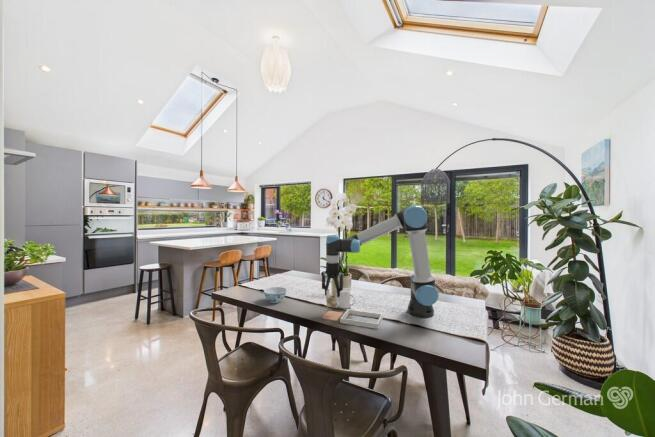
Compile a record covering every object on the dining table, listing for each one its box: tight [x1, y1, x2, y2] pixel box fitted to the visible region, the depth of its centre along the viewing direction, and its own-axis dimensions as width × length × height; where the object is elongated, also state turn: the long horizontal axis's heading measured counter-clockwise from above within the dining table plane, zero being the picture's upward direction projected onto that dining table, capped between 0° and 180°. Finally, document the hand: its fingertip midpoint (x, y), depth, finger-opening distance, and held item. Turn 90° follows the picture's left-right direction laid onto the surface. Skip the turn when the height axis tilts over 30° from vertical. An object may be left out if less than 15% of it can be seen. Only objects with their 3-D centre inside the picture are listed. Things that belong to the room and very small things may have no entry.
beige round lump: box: [326, 294, 338, 308], centre depth 159 cm, size 5×5×5 cm
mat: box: [321, 310, 344, 322], centre depth 159 cm, size 9×12×1 cm
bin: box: [339, 308, 384, 330], centre depth 153 cm, size 21×15×2 cm
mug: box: [337, 287, 356, 309], centre depth 173 cm, size 9×12×11 cm
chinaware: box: [263, 286, 287, 304], centre depth 183 cm, size 15×15×8 cm
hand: (332, 301), depth 159 cm, fingers closed on beige round lump, 5 cm apart
